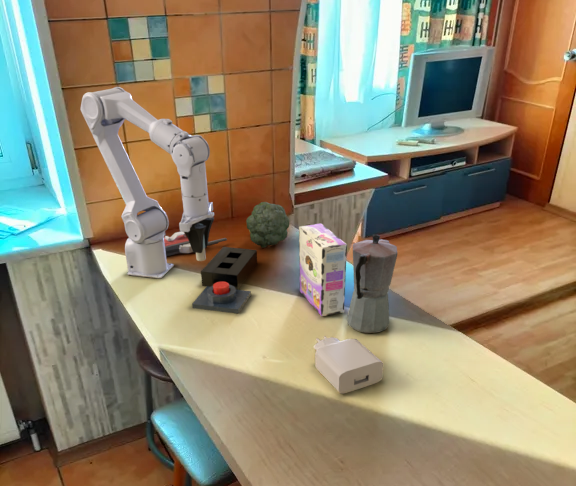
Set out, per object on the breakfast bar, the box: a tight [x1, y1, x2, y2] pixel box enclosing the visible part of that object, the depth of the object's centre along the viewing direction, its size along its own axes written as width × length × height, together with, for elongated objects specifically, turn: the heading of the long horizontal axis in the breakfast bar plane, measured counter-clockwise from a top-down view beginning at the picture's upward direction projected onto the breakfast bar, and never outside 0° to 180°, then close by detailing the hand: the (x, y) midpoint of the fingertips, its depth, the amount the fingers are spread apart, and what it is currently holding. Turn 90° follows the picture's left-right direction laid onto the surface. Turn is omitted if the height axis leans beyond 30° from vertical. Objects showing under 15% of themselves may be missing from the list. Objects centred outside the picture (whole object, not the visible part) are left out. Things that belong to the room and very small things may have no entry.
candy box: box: [298, 223, 348, 317], centre depth 131 cm, size 14×6×16 cm, turn 20°
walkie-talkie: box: [164, 231, 228, 257], centre depth 162 cm, size 9×4×20 cm
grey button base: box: [191, 285, 252, 314], centre depth 135 cm, size 11×9×3 cm
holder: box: [200, 246, 258, 290], centre depth 147 cm, size 9×15×4 cm, turn 165°
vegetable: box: [245, 201, 290, 249], centre depth 164 cm, size 12×13×15 cm
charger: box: [312, 335, 384, 394], centre depth 111 cm, size 5×9×15 cm
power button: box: [213, 282, 229, 295], centre depth 134 cm, size 4×4×2 cm
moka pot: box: [346, 234, 398, 334], centre depth 121 cm, size 10×15×20 cm, turn 155°
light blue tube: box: [195, 223, 207, 262], centre depth 137 cm, size 2×2×9 cm
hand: (200, 249), depth 138 cm, fingers closed on light blue tube, 2 cm apart
